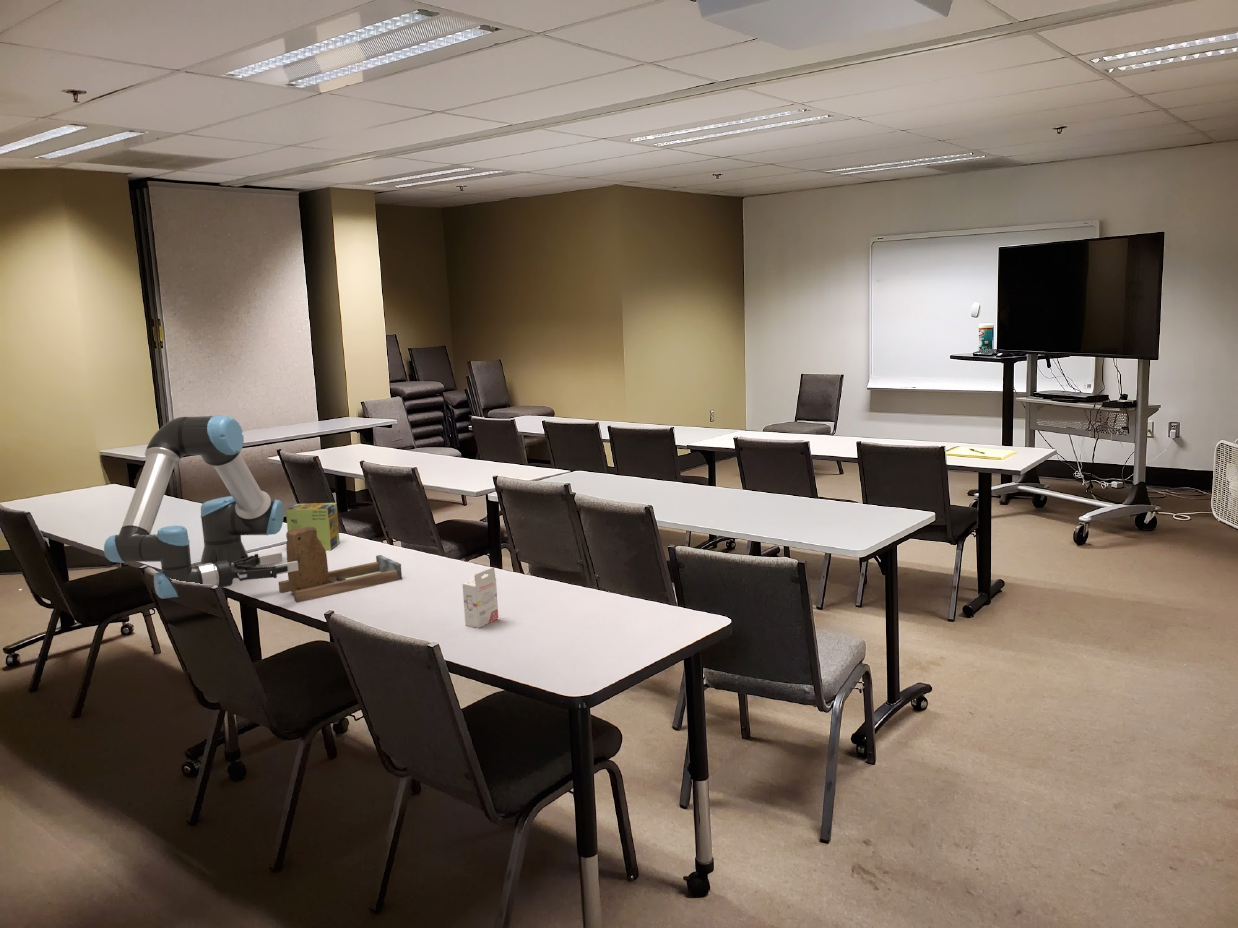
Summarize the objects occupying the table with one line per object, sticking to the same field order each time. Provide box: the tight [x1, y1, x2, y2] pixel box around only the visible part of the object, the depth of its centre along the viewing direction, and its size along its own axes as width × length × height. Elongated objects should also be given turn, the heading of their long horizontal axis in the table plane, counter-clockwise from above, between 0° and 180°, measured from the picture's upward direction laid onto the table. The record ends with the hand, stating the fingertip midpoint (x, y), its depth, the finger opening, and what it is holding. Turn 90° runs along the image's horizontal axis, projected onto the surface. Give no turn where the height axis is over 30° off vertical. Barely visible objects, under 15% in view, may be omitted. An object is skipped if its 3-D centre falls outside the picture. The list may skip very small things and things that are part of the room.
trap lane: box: [278, 554, 403, 603], centre depth 287 cm, size 15×34×5 cm, turn 129°
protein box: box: [285, 502, 341, 552], centre depth 334 cm, size 10×15×16 cm
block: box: [285, 526, 329, 594], centre depth 279 cm, size 11×8×20 cm
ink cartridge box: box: [462, 567, 499, 629], centre depth 248 cm, size 9×5×15 cm, turn 148°
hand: (289, 561), depth 275 cm, fingers open, 13 cm apart
